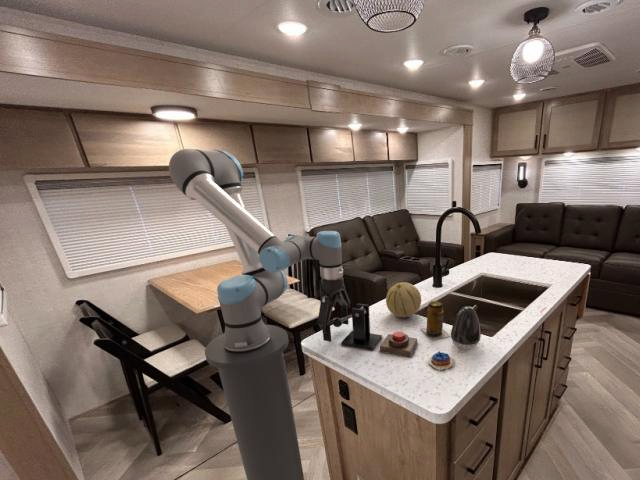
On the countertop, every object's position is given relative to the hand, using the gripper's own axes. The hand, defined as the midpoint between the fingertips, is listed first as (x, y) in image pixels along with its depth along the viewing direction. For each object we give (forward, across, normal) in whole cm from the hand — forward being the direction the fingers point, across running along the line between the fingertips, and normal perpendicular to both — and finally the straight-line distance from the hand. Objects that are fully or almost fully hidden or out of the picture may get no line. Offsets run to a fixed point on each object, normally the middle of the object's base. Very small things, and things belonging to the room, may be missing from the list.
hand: (336, 331), depth 118 cm
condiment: (+2, +14, -34) cm, 37 cm away
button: (-1, 0, -24) cm, 24 cm away
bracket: (+2, 0, -10) cm, 10 cm away
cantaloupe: (+2, +25, -18) cm, 31 cm away
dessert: (+2, -5, -40) cm, 40 cm away
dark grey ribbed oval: (+2, +8, -46) cm, 47 cm away
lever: (-5, 0, -6) cm, 8 cm away
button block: (+2, 0, -24) cm, 24 cm away
